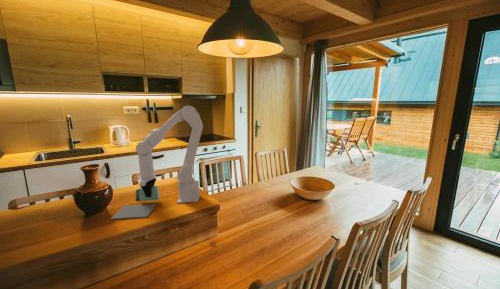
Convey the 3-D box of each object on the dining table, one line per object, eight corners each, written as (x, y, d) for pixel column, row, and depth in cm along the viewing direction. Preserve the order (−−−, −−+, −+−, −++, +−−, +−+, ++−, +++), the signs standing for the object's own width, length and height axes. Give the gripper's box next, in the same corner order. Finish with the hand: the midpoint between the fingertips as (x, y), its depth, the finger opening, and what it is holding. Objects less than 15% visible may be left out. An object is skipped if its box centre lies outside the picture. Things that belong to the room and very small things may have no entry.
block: (159, 198, 109) (158, 186, 108) (158, 199, 107) (156, 187, 106) (141, 199, 108) (140, 187, 107) (140, 201, 106) (138, 188, 105)
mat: (156, 205, 105) (156, 203, 105) (148, 217, 93) (147, 216, 93) (124, 207, 103) (123, 205, 103) (111, 220, 91) (111, 218, 91)
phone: (152, 187, 126) (153, 196, 113) (152, 189, 126) (153, 198, 113) (135, 189, 123) (135, 199, 109) (136, 191, 123) (135, 201, 110)
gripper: (142, 164, 112) (145, 190, 114) (130, 172, 97) (134, 202, 100) (157, 163, 112) (160, 189, 115) (148, 171, 98) (151, 201, 100)
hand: (149, 195), depth 107 cm, fingers closed on block, 2 cm apart
